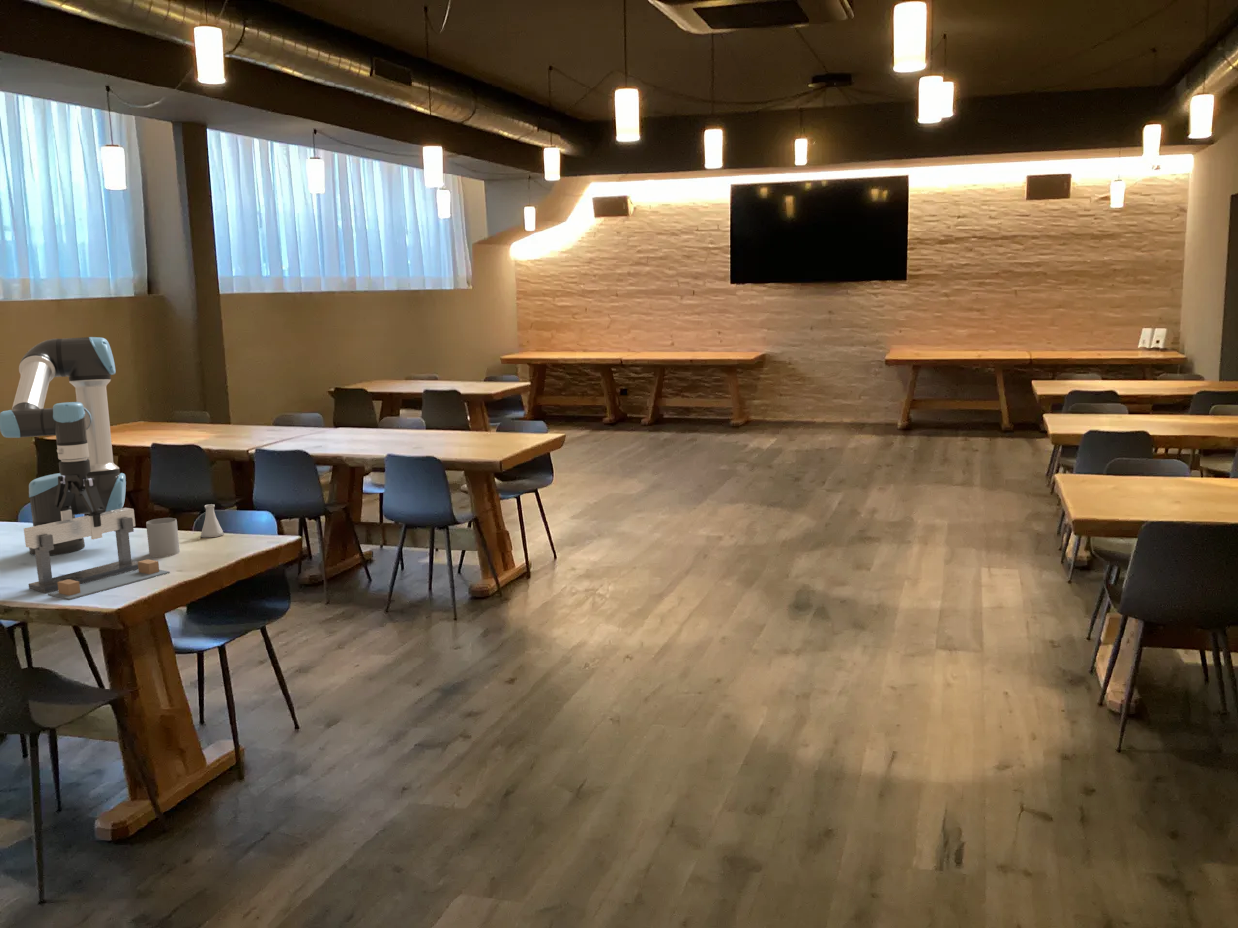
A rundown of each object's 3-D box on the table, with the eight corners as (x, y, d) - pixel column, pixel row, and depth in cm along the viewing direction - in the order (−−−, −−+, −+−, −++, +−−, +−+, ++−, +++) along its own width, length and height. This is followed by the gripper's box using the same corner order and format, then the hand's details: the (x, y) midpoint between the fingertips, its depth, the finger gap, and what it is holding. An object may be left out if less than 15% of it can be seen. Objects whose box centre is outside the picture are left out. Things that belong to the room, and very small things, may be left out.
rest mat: (47, 594, 279) (46, 582, 278) (148, 568, 303) (146, 556, 302) (69, 599, 273) (68, 587, 273) (169, 572, 297) (168, 561, 297)
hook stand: (29, 589, 284) (22, 534, 282) (125, 564, 308) (120, 514, 305) (45, 593, 280) (38, 537, 278) (142, 568, 303) (136, 516, 301)
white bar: (25, 546, 281) (23, 528, 280) (127, 524, 305) (125, 507, 304) (34, 548, 279) (31, 529, 278) (135, 526, 303) (133, 508, 302)
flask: (220, 537, 339) (217, 507, 337) (197, 538, 338) (194, 508, 337) (227, 532, 346) (224, 502, 344) (204, 533, 346) (201, 503, 344)
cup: (168, 557, 315) (165, 524, 314) (143, 556, 317) (140, 523, 315) (185, 550, 324) (182, 518, 322) (161, 549, 325) (157, 517, 324)
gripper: (35, 458, 292) (44, 534, 295) (87, 464, 279) (95, 543, 282) (61, 454, 298) (70, 528, 302) (113, 460, 285) (122, 537, 288)
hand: (82, 536), depth 292 cm, fingers open, 13 cm apart
